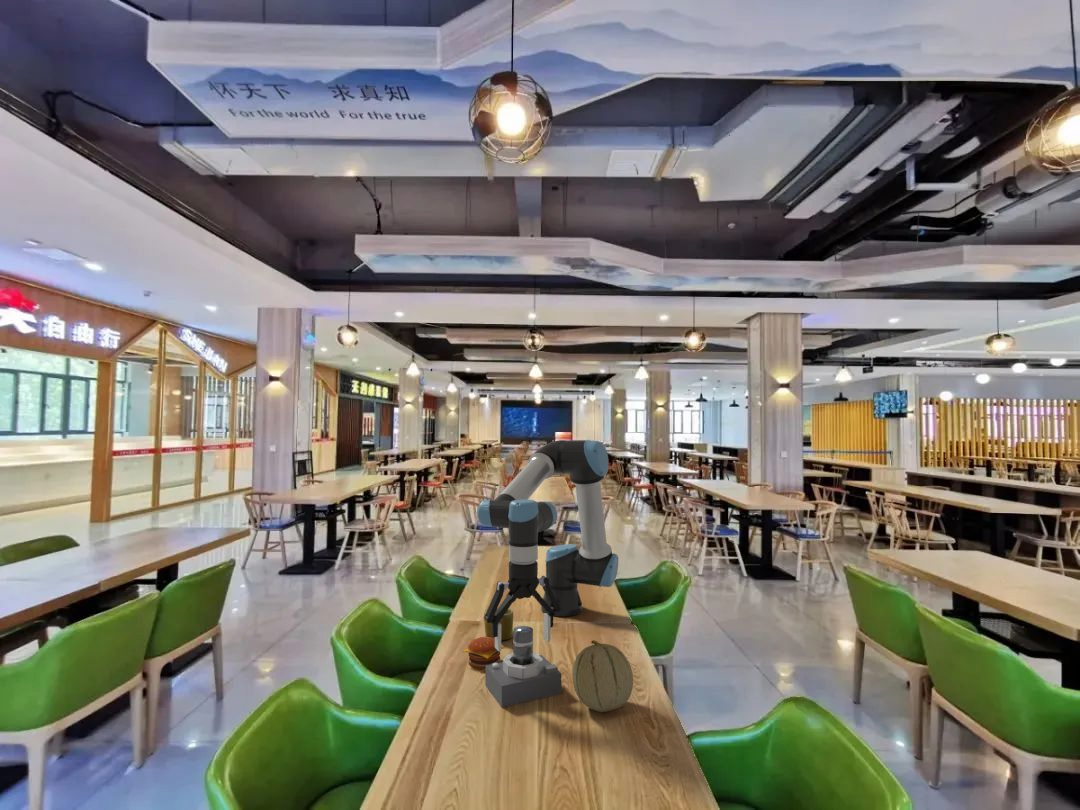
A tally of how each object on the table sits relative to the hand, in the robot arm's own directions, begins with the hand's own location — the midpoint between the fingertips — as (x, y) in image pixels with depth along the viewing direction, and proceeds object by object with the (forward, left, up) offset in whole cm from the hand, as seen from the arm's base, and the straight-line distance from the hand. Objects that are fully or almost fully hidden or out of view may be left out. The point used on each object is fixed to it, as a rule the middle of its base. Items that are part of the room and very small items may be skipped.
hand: (522, 644), depth 135 cm
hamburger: (+4, -19, -12) cm, 23 cm away
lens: (0, 0, -6) cm, 6 cm away
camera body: (0, 0, -11) cm, 11 cm away
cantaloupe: (-14, +16, -11) cm, 24 cm away
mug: (-7, -36, -12) cm, 38 cm away
